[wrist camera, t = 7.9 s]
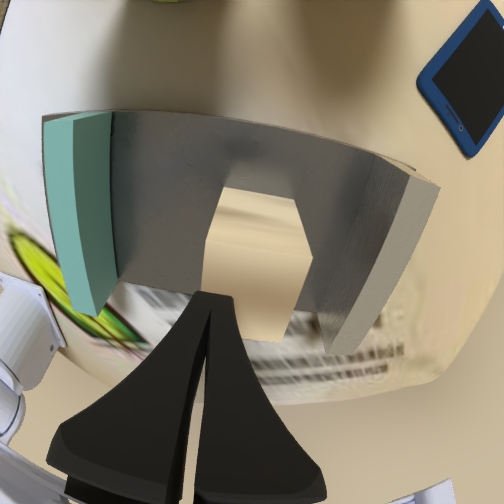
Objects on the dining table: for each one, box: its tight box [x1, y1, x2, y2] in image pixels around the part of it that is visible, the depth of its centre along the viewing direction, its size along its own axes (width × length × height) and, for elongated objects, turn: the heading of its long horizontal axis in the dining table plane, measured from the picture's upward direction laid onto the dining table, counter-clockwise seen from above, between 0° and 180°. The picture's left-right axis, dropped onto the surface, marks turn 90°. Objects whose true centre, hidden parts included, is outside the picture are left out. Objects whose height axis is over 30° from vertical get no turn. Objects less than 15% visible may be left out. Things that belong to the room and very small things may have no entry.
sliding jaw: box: [44, 112, 118, 317], centre depth 14 cm, size 12×2×4 cm, turn 170°
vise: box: [42, 110, 441, 355], centre depth 15 cm, size 12×24×5 cm, turn 80°
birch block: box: [201, 187, 313, 343], centre depth 14 cm, size 5×4×6 cm
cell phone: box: [416, 0, 504, 157], centre depth 10 cm, size 7×14×1 cm, turn 144°
